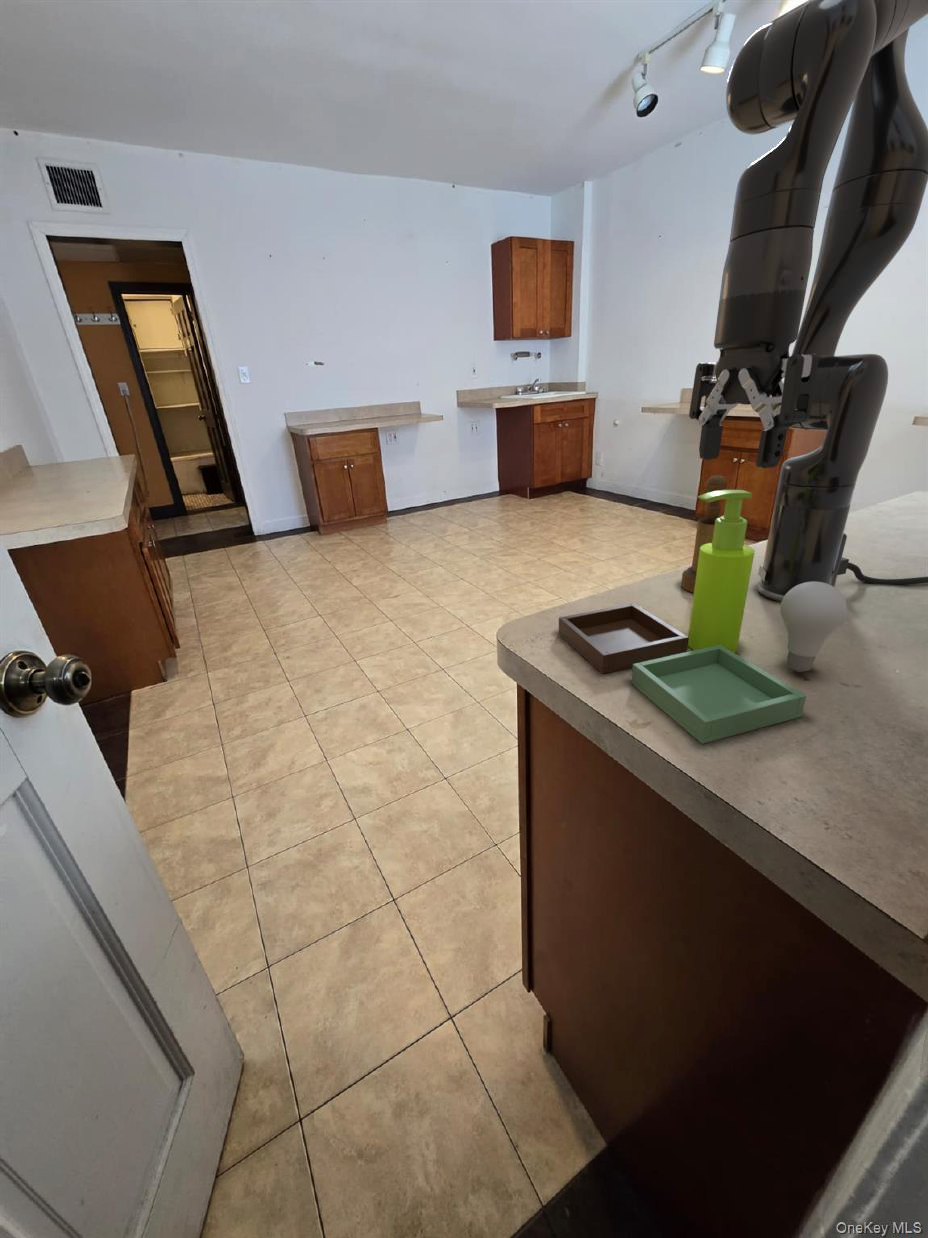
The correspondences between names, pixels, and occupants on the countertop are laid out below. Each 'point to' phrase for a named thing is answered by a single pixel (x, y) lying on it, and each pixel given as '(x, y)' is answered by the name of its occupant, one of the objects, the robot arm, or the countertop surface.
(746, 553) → the soap dispenser
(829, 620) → the lightbulb
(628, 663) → the walnut tray
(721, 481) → the wooden pepper mill
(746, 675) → the green tray
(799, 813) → the countertop surface
